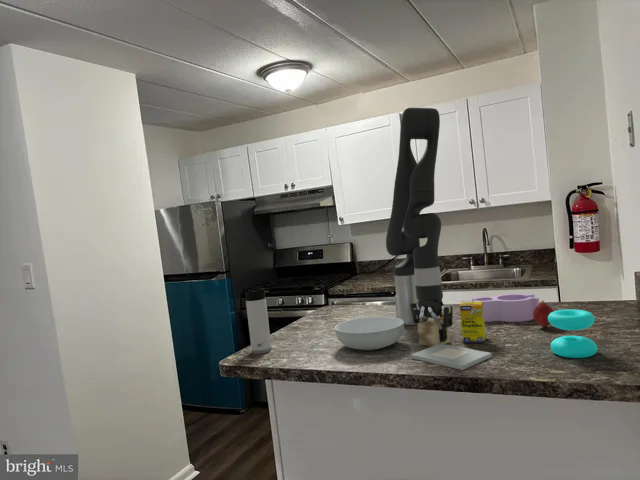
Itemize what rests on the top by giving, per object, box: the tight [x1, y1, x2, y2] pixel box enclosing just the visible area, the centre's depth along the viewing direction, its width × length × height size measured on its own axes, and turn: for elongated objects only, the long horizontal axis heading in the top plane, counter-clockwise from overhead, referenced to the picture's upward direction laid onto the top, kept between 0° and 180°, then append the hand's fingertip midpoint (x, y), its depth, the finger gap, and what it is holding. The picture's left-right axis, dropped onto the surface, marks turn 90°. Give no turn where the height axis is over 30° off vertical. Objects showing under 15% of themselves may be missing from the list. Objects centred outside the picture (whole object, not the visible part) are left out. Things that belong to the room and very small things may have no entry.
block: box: [417, 319, 450, 347], centre depth 131 cm, size 6×6×6 cm
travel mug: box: [244, 287, 272, 355], centre depth 143 cm, size 6×7×20 cm
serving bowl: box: [334, 316, 405, 351], centre depth 135 cm, size 21×21×7 cm
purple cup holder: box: [472, 293, 540, 323], centre depth 151 cm, size 20×12×7 cm, turn 76°
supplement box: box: [459, 301, 486, 344], centre depth 129 cm, size 6×6×11 cm
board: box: [410, 343, 493, 371], centre depth 117 cm, size 16×12×1 cm
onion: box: [533, 300, 554, 328], centre depth 135 cm, size 6×6×8 cm
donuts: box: [548, 308, 598, 359], centre depth 110 cm, size 10×10×10 cm
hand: (434, 339), depth 131 cm, fingers closed on block, 6 cm apart
